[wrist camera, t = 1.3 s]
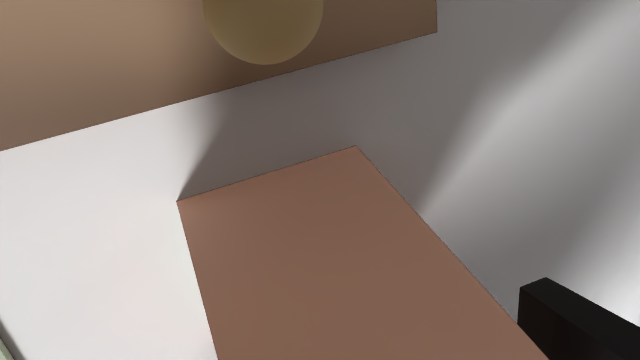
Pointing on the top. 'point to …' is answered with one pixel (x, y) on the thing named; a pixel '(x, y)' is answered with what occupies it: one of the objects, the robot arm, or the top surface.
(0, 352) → the mat
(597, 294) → the top surface
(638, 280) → the top surface
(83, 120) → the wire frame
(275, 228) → the terracotta block
